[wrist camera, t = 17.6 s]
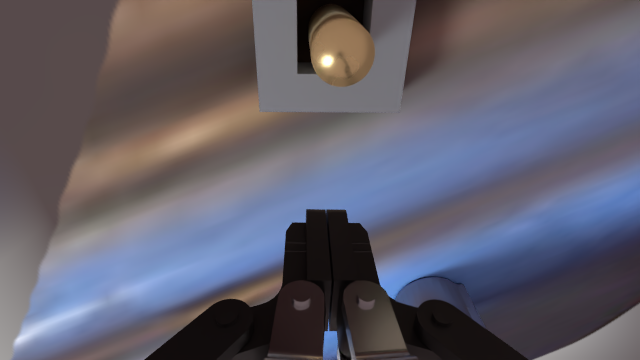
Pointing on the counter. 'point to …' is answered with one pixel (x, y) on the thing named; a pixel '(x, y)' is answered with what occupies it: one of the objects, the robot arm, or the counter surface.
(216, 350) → the robot arm
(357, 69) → the brass cylinder
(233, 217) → the counter surface
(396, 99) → the block
